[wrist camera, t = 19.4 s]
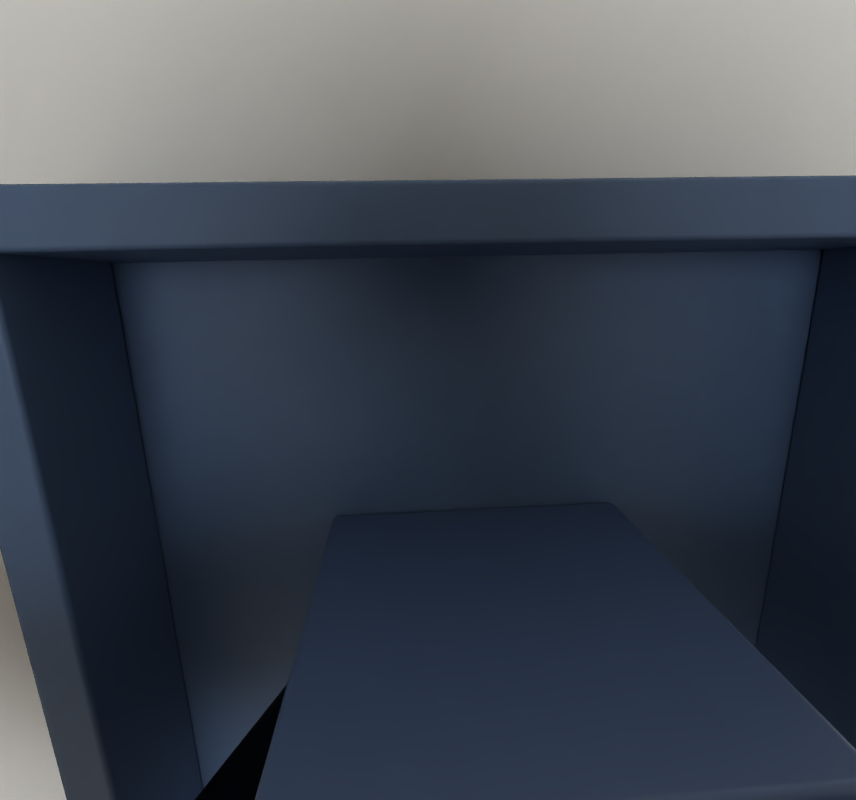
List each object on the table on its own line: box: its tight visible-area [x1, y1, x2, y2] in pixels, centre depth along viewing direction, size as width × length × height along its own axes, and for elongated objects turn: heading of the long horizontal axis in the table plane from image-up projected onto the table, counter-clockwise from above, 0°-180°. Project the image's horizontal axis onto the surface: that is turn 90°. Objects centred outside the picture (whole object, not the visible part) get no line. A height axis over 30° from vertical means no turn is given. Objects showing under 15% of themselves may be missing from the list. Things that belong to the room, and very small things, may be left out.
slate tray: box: [0, 176, 856, 800], centre depth 7 cm, size 11×13×2 cm
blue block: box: [255, 503, 856, 800], centre depth 6 cm, size 4×4×4 cm
